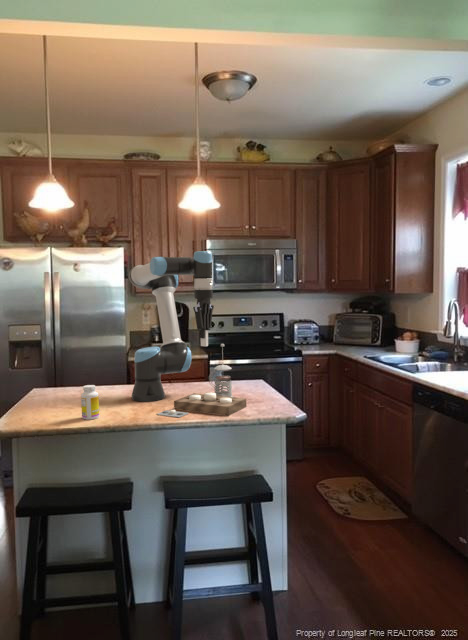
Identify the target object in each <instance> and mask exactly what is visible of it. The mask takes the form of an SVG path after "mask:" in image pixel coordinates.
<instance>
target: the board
mask: <svg viewBox="0 0 468 640" xmlns="http://www.w3.org/2000/svg"><path fill="white" fill-rule="evenodd" d="M204 394H205V393H195V392H194V393H191V394H188V395H185V396H183V397H181V398H178V399H175V400H173V410H177V411H178V410H179V411H186V412H193V413H201V414H202V413H203V414H211V415H220V416H228V417H230V416H232V415H233V414H235V413H237V412H239V411H241V410H243V409H245V408H247V398H246V397H245V398H244V397H236V396H233V397H227V396H216V401H214V402H209V401H204ZM190 395H201V399H199V400H190V399H189V396H190ZM221 398H232V402H231V403H229V404H228V403H220V399H221Z"/></svg>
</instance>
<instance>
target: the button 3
mask: <svg viewBox="0 0 468 640" xmlns="http://www.w3.org/2000/svg"><path fill="white" fill-rule="evenodd" d="M231 402H232V398H221V399H220V403H228V404H229V403H231Z"/></svg>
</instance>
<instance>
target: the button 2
mask: <svg viewBox="0 0 468 640" xmlns="http://www.w3.org/2000/svg"><path fill="white" fill-rule="evenodd" d="M203 394H204V401H209V402H214V401H216V393H215V392H206V393H203Z"/></svg>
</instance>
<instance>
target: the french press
mask: <svg viewBox="0 0 468 640" xmlns="http://www.w3.org/2000/svg"><path fill="white" fill-rule="evenodd" d="M220 347H221V348H222V350H221V353H222V360H224V352H223V351H224V348H223V347H225V344H224V343H220ZM231 370H232V367H230V365H227V364H224V363H222V364H220V365H216V366H215V367H214V370H212V371H211V372H210V373H209V376H208V378H209V379H208V382H209V385H211V386H212V387H213V388H214V393H216V396H227V397H234V396H233V394H232V393H233V389H232V387H233V386H232V379H231V376H230V375H224V374H222V375H216V374H217V371H221V372H224V371H231ZM212 374H214V375H216V376H215V380H214V383H213V382H212V377H211V376H212Z"/></svg>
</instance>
